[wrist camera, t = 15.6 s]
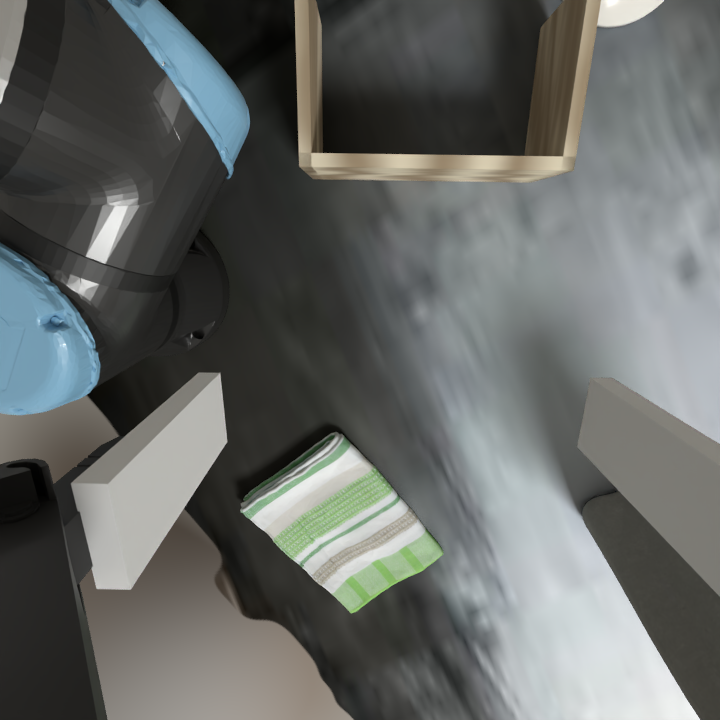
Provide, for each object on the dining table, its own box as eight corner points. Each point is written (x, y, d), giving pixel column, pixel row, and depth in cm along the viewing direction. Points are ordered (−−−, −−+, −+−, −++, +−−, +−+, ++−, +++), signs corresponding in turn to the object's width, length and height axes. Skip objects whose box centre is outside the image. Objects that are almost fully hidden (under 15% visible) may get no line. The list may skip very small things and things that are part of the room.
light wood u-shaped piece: (313, 179, 42) (297, 165, 32) (310, 15, 37) (291, -55, 28) (531, 182, 41) (578, 169, 32) (552, 18, 37) (615, -53, 28)
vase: (654, 550, 55) (964, 900, 26) (562, 546, 55) (772, 891, 26) (679, 471, 51) (1073, 779, 23) (581, 467, 51) (850, 769, 23)
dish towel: (340, 424, 51) (338, 438, 47) (446, 544, 56) (451, 564, 53) (239, 496, 54) (231, 513, 51) (348, 602, 59) (347, 625, 56)
